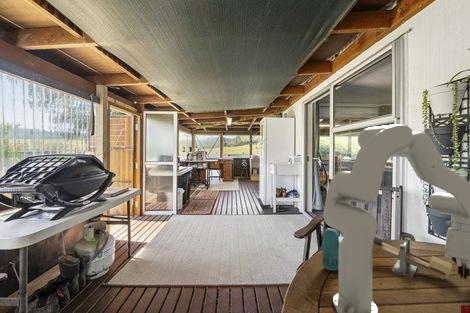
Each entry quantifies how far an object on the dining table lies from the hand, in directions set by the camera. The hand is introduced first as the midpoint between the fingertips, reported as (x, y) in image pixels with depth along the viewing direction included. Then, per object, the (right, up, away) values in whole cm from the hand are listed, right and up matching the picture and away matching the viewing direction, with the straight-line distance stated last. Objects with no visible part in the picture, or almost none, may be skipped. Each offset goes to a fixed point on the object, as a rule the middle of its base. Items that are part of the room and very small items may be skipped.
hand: (463, 276), depth 88 cm
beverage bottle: (-44, -3, +12) cm, 45 cm away
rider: (-5, 0, +5) cm, 7 cm away
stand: (-13, -3, +12) cm, 18 cm away
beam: (-14, +2, +13) cm, 19 cm away
